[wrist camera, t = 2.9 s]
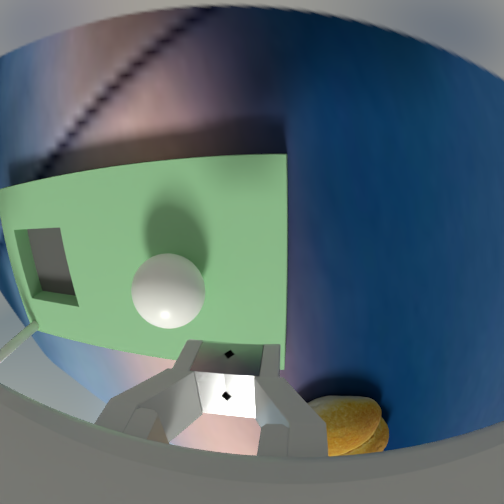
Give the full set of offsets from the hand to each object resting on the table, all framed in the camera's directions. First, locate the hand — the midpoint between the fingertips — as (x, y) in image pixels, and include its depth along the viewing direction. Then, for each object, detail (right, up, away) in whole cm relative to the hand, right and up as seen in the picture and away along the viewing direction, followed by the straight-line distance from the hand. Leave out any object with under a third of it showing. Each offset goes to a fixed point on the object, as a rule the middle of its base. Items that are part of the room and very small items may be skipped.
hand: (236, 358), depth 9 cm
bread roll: (+7, -11, +11) cm, 17 cm away
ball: (-3, +2, +6) cm, 7 cm away
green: (-8, +3, +8) cm, 12 cm away
